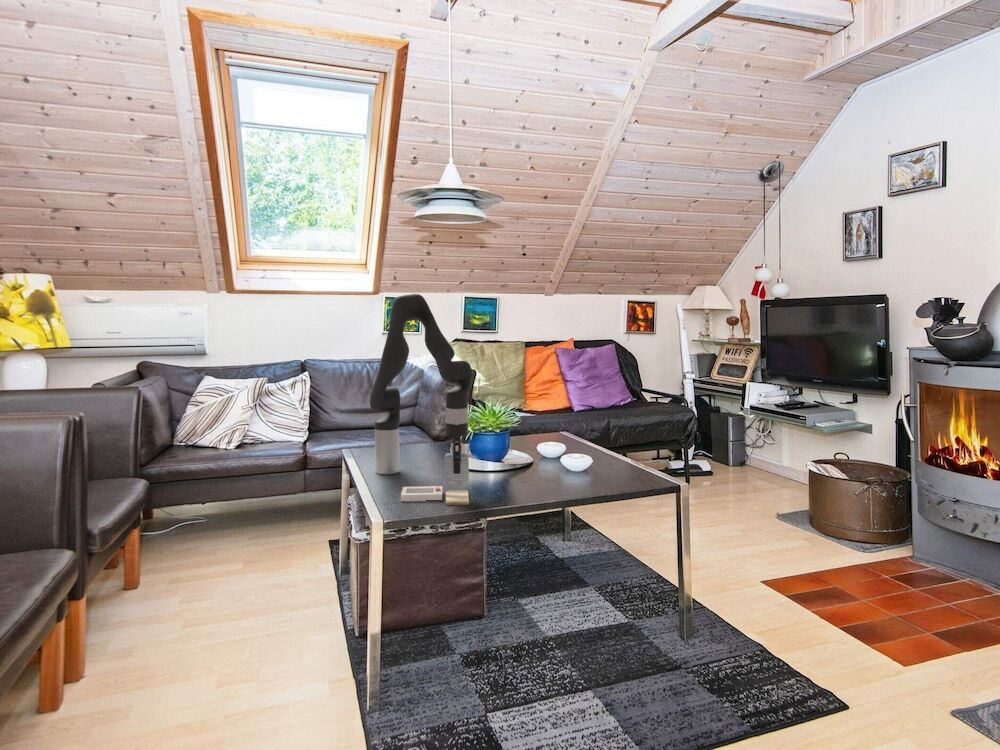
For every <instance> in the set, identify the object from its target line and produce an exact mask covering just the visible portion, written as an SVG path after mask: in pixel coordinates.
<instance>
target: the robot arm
mask: <svg viewBox="0 0 1000 750" xmlns="http://www.w3.org/2000/svg"><path fill="white" fill-rule="evenodd" d="M389 318H390V319H389V324H388V331H387V335H386V336H387V337H386V340H385V343H384V346H383V349H382V354H381V359H380V364H379V367H378V368H379V369H378V372H377V375H376V377H375V381H374V383H373V385H372V389H371V392H370V396H369V406H370V408H371V410H372V411H373V412H386V414H385V415H384V416H382V417H381V418H378V419H377V420H376V421H375V422H374V442H375V443H374V450H375V451H374V452H375V453H374V454H375V455H374V456H375V458H374V459H375V461H374V462H375V463H374V464H375V473H376V474H378V475H393V474H398V473H399V472H400V421H401V419H400V418H401V417H400V416H401V414H400V413H401V393H400V390H399V389H398V388H397V387H396V386H389V385H390V383H392V381H393V380H394V379H396V377H398V376H399V375H400V373H402V371H404V369H405V368H406V365H407V361H408V358H409V353H410V348H409V344H408V342H407V339H406V338H405V335H404V329H405V326H406V323H407V322H412V321H419V322H420V323H421V324H422V326H423V328H424V343H425V346H426V348H427V349H428V351H429V354H431V356H432V357H433V359H434V360H435V364H436V366H437V370H438V373H439V376H440V377H441V379H442V380H443V381H444V382H446V383H448V384H454V386H453V387H452V388H451V389H448V391H446V393H445V413H444V417H445V418H444V419H445V420H444V421H445V422H444V425H445V426H444V427H445V428H444V430H445V431H444V432H445V433H444V434H445V436H447V437H451V438H452V439H451V440H450V447H451V453H452V456H453V463H454V474H460V463H461V455H462V453H463V446H464V443H463V441H464V440H463V439H461V438H462V437H467V436H468V434H469V412H468V393H469V390H470V387H471V386H470V385H471V382H472V378H473V370H472V366H471V364H470V363H469V362H468V361H466V360H454V361H453V359H454V357H455V354H456V353H455V350H454V348H453V346H452V345H451V344H450V343H449V341H448V340H447V338H446V337H445V336H444V334H443V332H442V331H441V329H440V327H439V326H438V323H437V321H436V319H435V316H434V314H433V313H432V310H431V308H430V306H429V304H428V302H427V301H426V299H425V298H424V297H423V296H422V294H419V293H411V294H402V295H397V296H396V297H395V298H394V300H393V303H392V306H391V310H390V317H389ZM455 456H459V458H455Z"/></svg>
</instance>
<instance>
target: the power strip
mask: <svg viewBox="0 0 1000 750" xmlns="http://www.w3.org/2000/svg"><path fill="white" fill-rule="evenodd" d="M432 484H433V485H429V486H402V489H401V492H400V502H402V501H403V502H404V501H405V502H427V501H426V500H442V501H443V485H438V486H437V483H432Z"/></svg>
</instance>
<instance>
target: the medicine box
mask: <svg viewBox="0 0 1000 750" xmlns="http://www.w3.org/2000/svg"><path fill="white" fill-rule="evenodd" d="M469 456H470V455H469V453H468V452H467V453H466V452H464V453H463V452H462V455H461V463H460V474H454V463H453V456H452V452H451V453H448V452H447V453H445V454H444V456H443V457H444V482H469V477H470V474H469V473H470V472H469V471H470V468H469V466H470V465H469V464H470V463H469V461H470V460H469V458H470V457H469ZM455 458H459V456H455Z"/></svg>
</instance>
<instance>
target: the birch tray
mask: <svg viewBox="0 0 1000 750" xmlns="http://www.w3.org/2000/svg"><path fill="white" fill-rule="evenodd" d="M469 498H470V496H469V491H468V489H466V490H445V506H466V505H467V506H468V505H470V499H469Z"/></svg>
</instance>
